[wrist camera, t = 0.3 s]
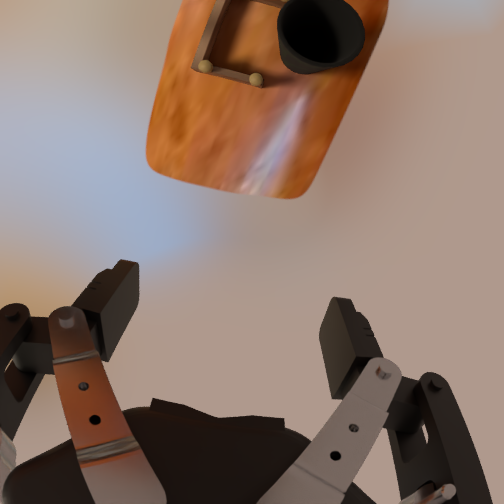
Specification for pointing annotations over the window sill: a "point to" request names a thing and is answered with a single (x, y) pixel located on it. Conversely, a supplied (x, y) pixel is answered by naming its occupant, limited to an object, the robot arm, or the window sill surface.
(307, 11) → the cup
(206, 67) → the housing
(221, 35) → the window sill surface
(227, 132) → the window sill surface
